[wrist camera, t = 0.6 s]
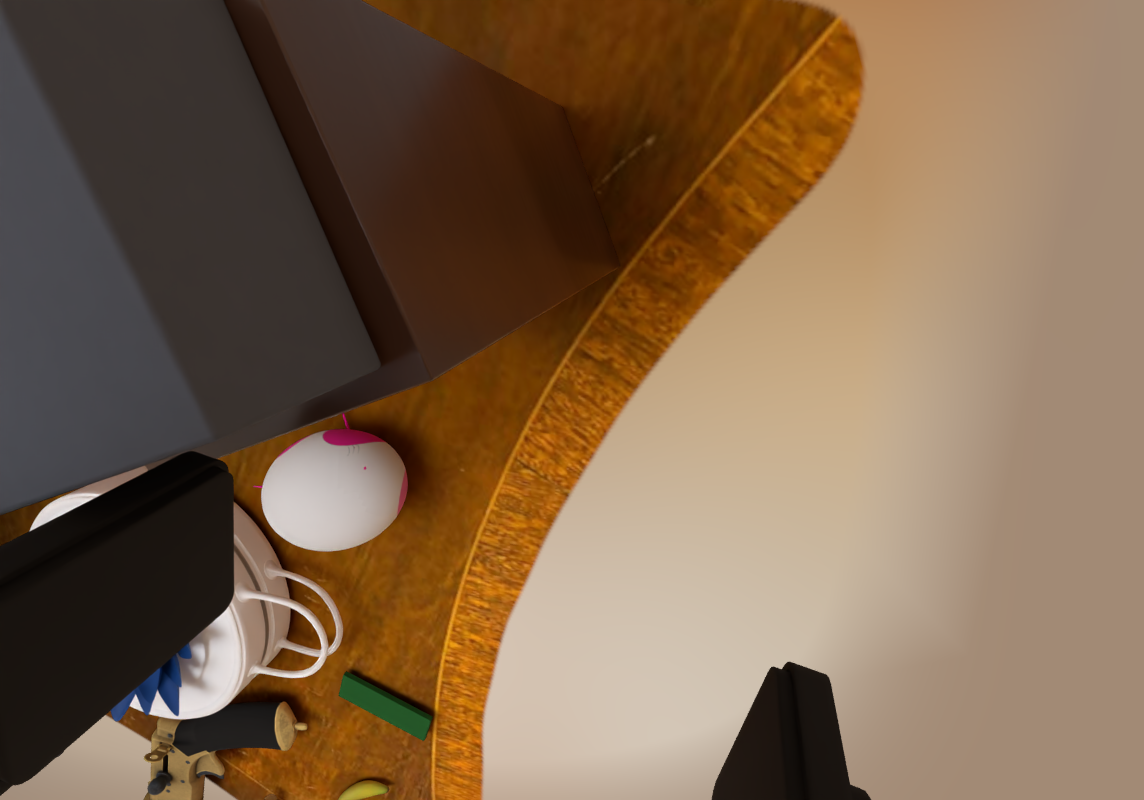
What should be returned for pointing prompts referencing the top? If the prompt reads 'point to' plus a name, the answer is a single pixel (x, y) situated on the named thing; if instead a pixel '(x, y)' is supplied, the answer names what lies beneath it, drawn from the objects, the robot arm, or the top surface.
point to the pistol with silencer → (213, 745)
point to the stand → (420, 191)
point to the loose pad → (150, 246)
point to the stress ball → (334, 489)
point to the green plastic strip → (385, 706)
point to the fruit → (364, 790)
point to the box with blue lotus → (221, 625)
